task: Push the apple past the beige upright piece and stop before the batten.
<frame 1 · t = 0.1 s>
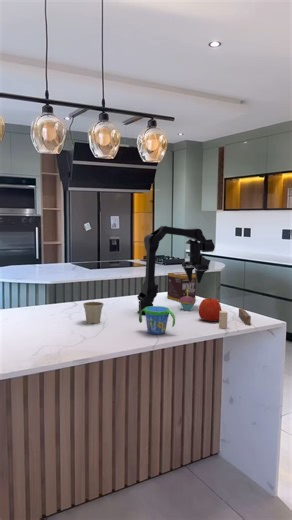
hand: (194, 281, 205), 15 cm above the countertop, tool pointing down, fingers open, 9 cm apart
beige upright piece: (218, 320, 183), on the countertop
apple: (210, 320, 183), on the countertop, touching beige upright piece
supplement box: (181, 299, 232), on the countertop
snack cup: (156, 332, 162), on the countertop
flower pot: (93, 322, 178), on the countertop
batten: (244, 320, 182), on the countertop
cupcake: (187, 309, 205), on the countertop
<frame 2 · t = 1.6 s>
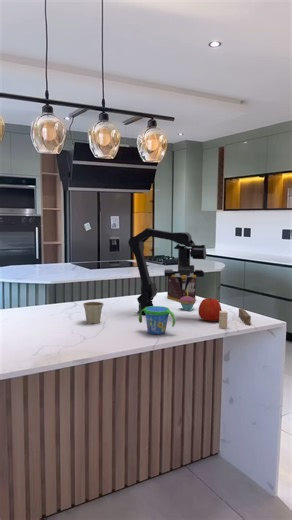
hand: (183, 290, 187), 13 cm above the countertop, tool pointing down, fingers closed
nothing on the countertop moved.
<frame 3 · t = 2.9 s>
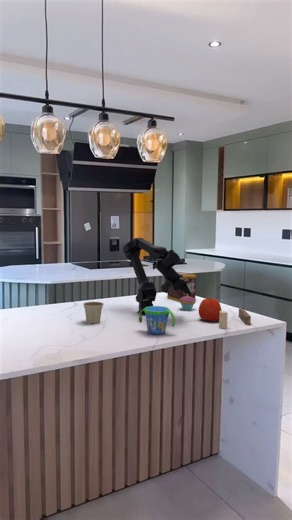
hand: (190, 294, 182), 12 cm above the countertop, tool tilted 45°, fingers closed
nothing on the countertop moved.
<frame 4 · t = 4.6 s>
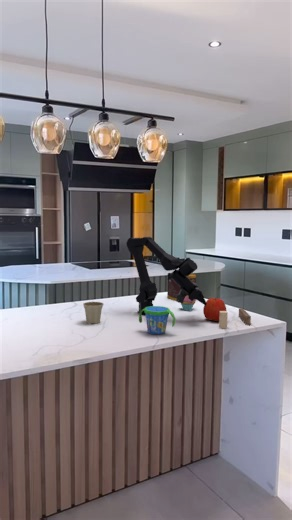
hand: (205, 304, 181), 8 cm above the countertop, tool tilted 45°, fingers closed
apple: (214, 320, 183), on the countertop, touching gripper
everything else where it was.
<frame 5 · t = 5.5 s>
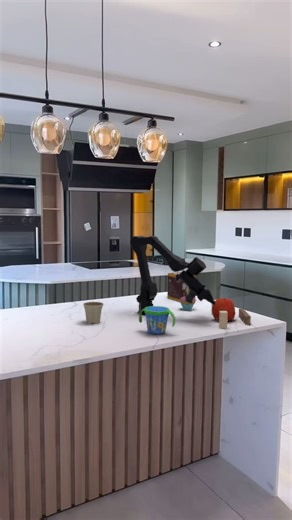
hand: (214, 304, 182), 8 cm above the countertop, tool tilted 45°, fingers closed, pressing on apple
apple: (223, 320, 183), on the countertop, touching gripper, beige upright piece
everything else where it was.
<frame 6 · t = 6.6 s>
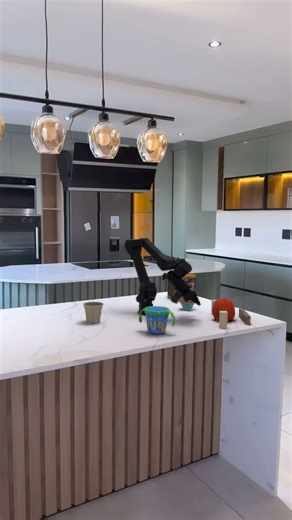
hand: (199, 305, 182), 7 cm above the countertop, tool tilted 45°, fingers closed
apple: (223, 320, 183), on the countertop, touching beige upright piece
everything else where it was.
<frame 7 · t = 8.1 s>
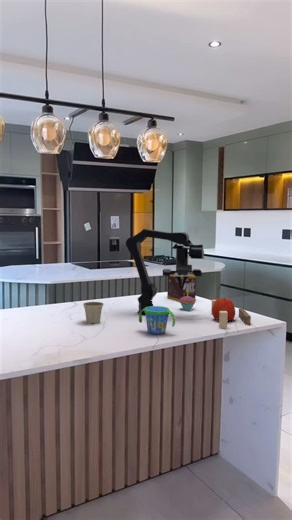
hand: (181, 290, 189), 13 cm above the countertop, tool pointing down, fingers closed
nothing on the countertop moved.
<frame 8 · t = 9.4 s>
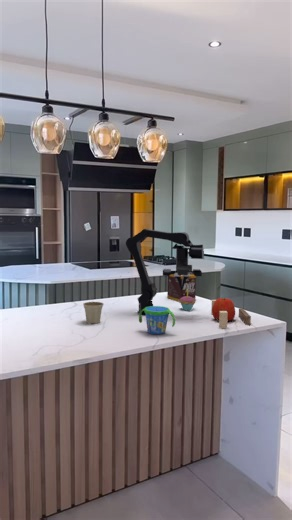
hand: (181, 290, 189), 13 cm above the countertop, tool pointing down, fingers closed
nothing on the countertop moved.
at the end: apple inside the target area (7.7 cm from its centre), on the countertop; apple moved 6.2 cm from its start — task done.
